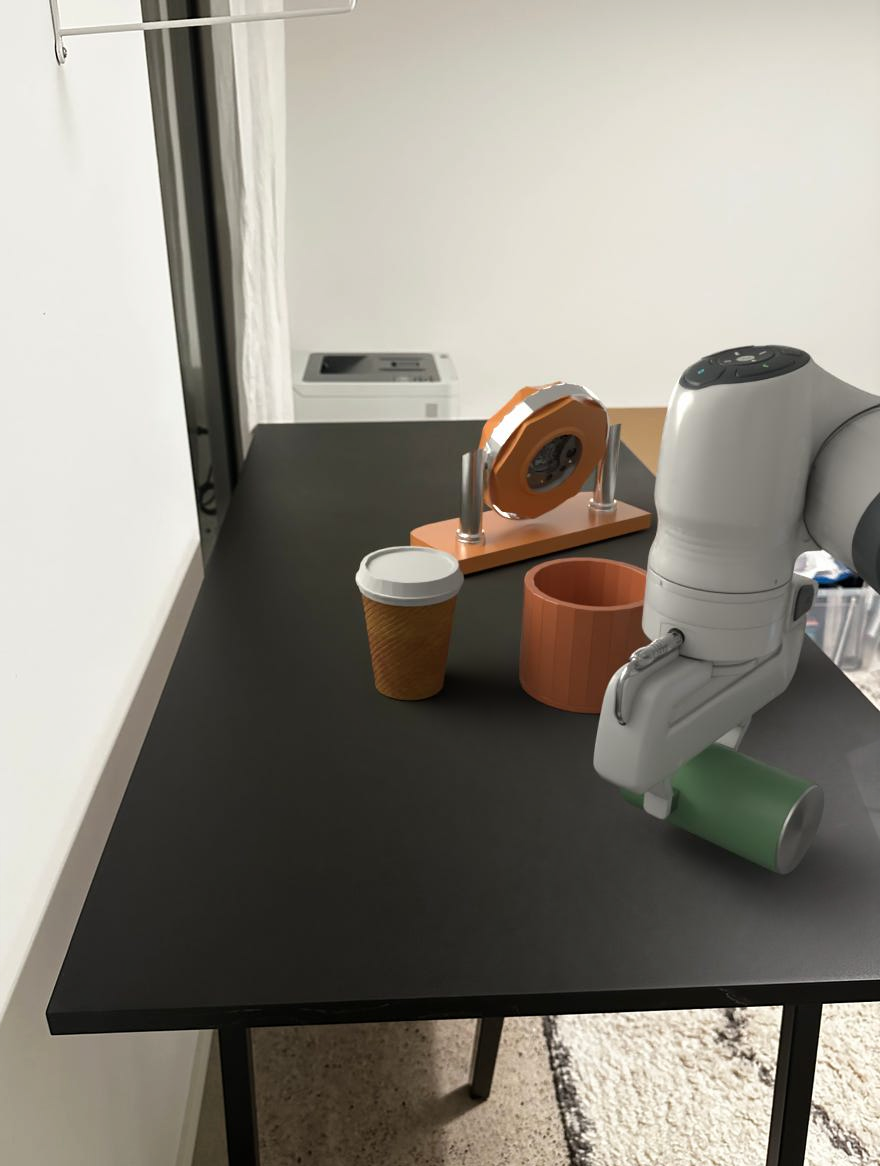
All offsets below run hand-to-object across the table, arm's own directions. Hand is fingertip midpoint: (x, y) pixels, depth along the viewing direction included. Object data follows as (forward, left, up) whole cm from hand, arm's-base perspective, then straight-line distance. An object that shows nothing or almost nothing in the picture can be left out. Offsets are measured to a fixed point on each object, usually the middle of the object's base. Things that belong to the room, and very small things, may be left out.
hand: (690, 788), depth 73 cm
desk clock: (+47, -40, -5) cm, 62 cm away
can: (-2, 0, -3) cm, 3 cm away
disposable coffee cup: (+31, -3, -5) cm, 31 cm away
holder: (+20, -15, -5) cm, 25 cm away
